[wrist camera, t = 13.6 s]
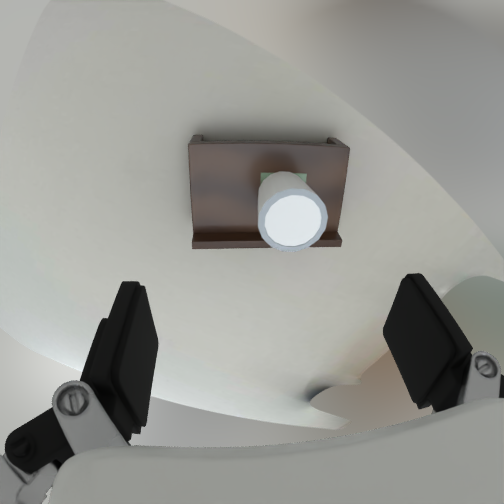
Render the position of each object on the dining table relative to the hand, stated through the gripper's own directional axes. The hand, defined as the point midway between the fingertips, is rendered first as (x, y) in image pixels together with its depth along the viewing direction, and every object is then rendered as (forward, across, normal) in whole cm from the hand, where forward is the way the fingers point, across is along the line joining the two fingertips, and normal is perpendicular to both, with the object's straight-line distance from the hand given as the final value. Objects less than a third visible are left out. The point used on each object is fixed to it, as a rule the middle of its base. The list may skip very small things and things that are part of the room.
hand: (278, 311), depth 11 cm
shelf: (+30, -3, +6) cm, 31 cm away
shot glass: (+25, -4, +6) cm, 26 cm away
